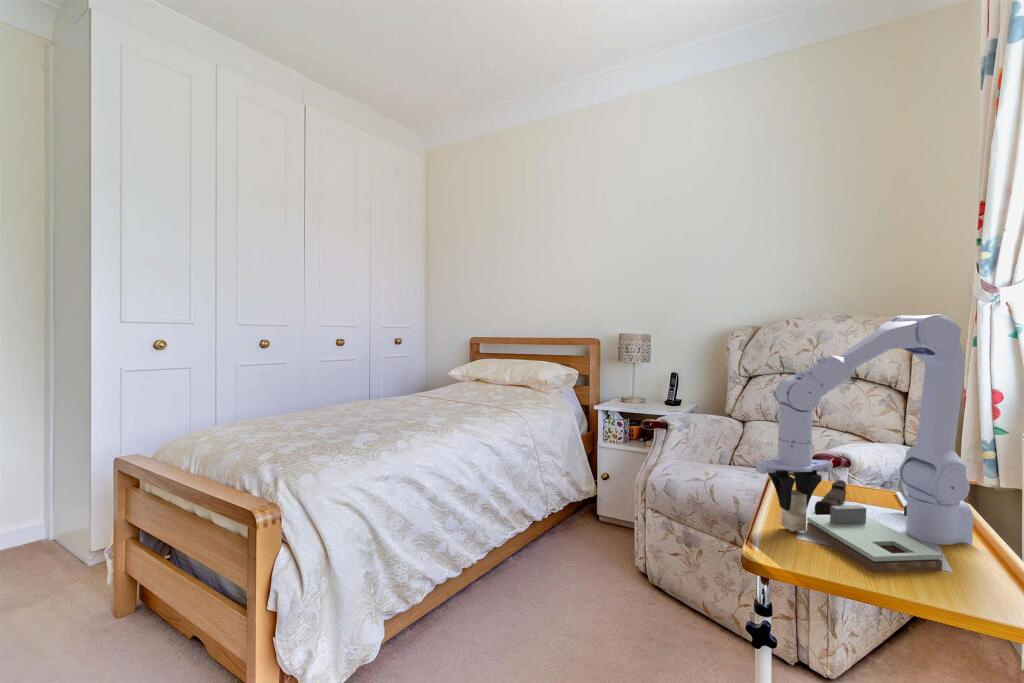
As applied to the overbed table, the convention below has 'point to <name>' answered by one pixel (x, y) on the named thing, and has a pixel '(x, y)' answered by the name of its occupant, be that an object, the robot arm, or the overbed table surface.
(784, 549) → the overbed table surface
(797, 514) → the block
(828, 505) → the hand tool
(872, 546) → the lid
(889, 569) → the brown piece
